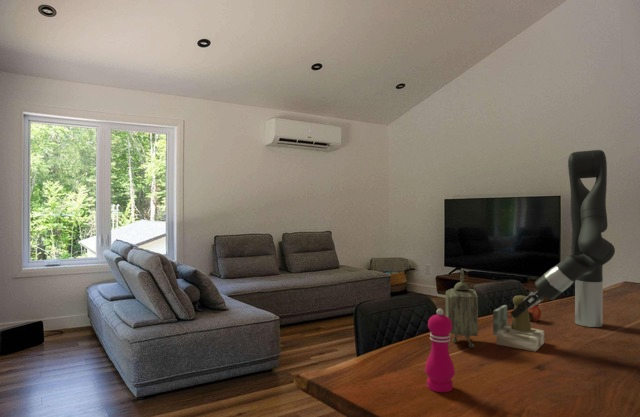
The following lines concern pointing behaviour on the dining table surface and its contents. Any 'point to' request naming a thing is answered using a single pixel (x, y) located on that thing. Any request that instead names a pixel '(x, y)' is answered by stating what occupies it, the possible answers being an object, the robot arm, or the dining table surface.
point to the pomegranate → (534, 313)
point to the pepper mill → (439, 354)
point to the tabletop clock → (462, 310)
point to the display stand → (515, 333)
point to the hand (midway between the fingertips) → (515, 313)
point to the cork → (521, 316)
